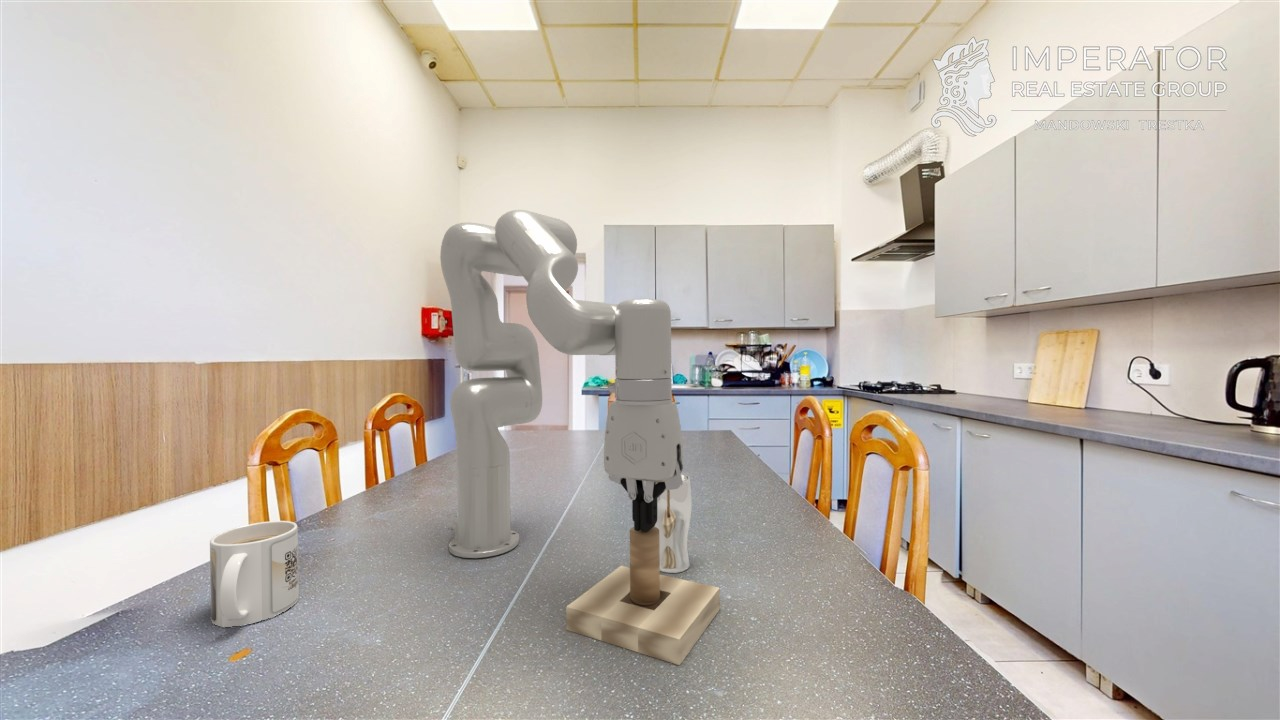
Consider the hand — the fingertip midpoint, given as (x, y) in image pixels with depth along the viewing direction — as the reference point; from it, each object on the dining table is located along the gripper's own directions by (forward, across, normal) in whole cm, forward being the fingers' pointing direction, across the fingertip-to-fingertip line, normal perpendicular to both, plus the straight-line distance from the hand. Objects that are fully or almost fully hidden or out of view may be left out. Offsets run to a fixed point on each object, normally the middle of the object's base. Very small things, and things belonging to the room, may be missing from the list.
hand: (645, 528), depth 66 cm
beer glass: (+12, -4, +17) cm, 21 cm away
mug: (+12, -50, -24) cm, 57 cm away
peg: (+12, 0, 0) cm, 12 cm away
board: (+12, 0, 0) cm, 12 cm away
